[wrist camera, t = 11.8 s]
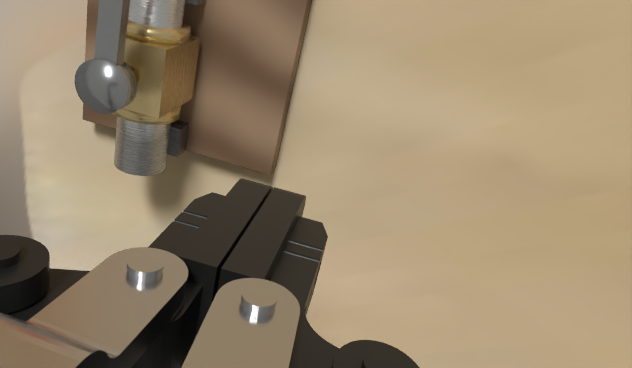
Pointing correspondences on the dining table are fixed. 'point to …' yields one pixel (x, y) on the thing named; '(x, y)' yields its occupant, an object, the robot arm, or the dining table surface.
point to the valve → (156, 85)
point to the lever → (108, 63)
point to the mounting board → (234, 77)
